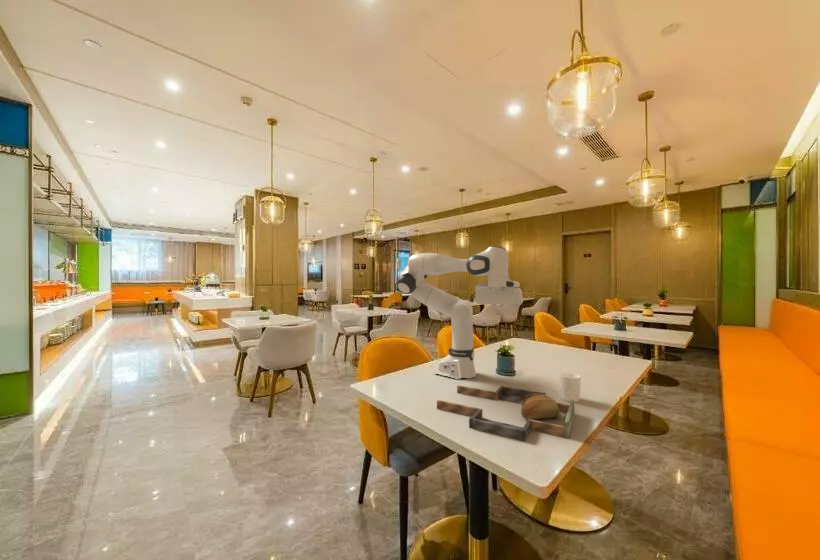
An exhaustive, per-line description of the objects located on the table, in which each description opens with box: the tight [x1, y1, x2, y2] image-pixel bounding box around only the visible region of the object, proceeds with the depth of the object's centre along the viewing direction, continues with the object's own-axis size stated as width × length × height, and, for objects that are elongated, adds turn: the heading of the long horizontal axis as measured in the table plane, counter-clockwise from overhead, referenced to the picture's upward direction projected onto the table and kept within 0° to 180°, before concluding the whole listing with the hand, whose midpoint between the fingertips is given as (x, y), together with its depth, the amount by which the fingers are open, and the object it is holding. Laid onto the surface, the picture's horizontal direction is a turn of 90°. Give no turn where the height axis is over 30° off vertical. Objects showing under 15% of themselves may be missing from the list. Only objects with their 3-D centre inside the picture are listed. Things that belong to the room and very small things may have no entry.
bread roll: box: [520, 394, 561, 420], centre depth 116 cm, size 10×15×8 cm, turn 106°
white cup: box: [559, 372, 582, 403], centre depth 133 cm, size 8×8×10 cm
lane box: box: [436, 385, 575, 442], centre depth 122 cm, size 47×39×5 cm
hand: (498, 314), depth 139 cm, fingers closed
